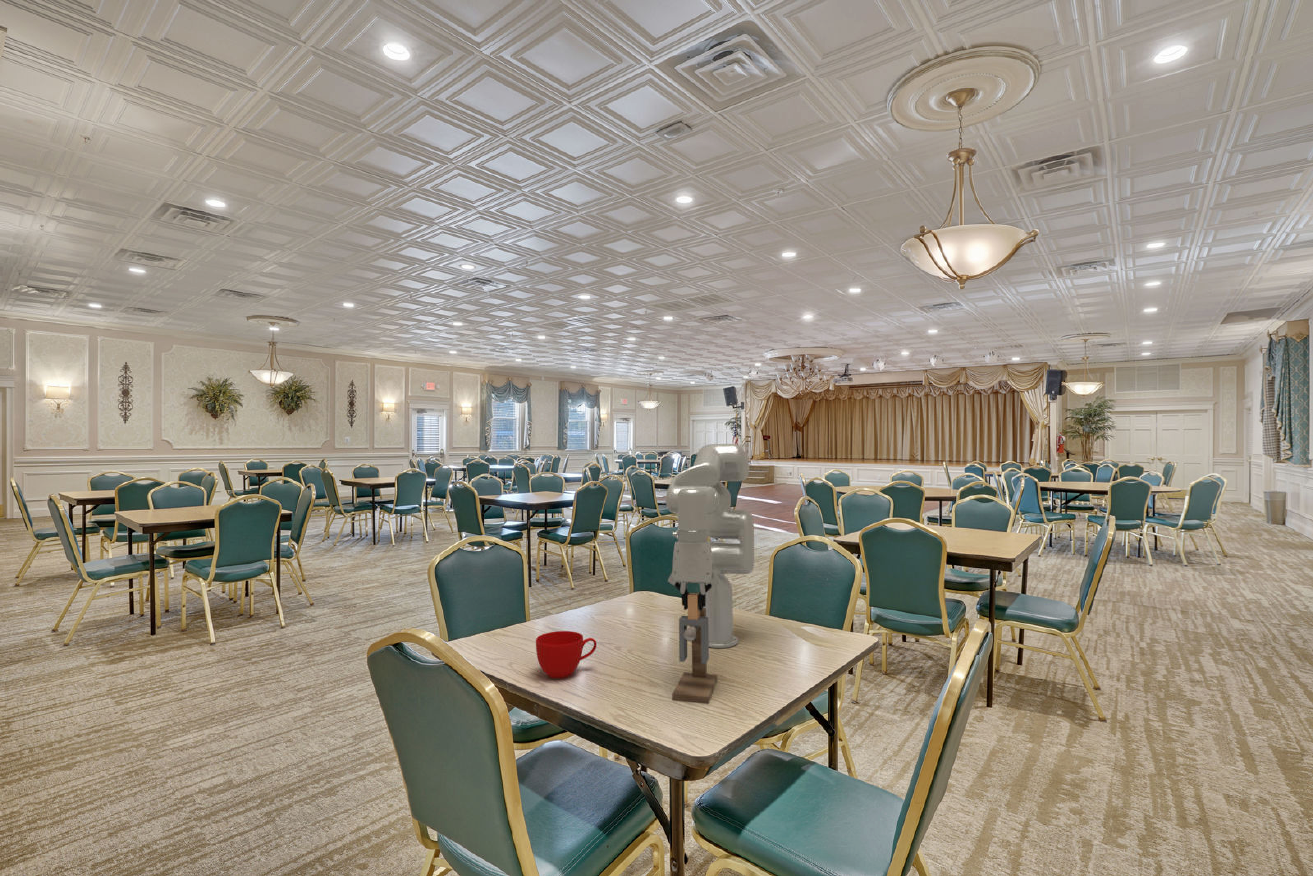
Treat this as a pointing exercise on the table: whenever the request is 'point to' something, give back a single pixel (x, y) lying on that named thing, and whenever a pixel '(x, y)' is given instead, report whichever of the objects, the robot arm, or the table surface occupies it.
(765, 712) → the table surface
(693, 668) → the hook stand
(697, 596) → the grey arch stand
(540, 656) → the ceramic cup
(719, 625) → the robot arm
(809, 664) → the table surface
